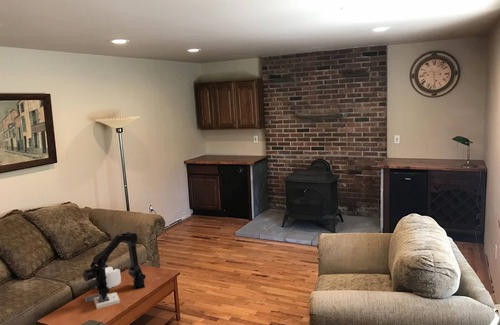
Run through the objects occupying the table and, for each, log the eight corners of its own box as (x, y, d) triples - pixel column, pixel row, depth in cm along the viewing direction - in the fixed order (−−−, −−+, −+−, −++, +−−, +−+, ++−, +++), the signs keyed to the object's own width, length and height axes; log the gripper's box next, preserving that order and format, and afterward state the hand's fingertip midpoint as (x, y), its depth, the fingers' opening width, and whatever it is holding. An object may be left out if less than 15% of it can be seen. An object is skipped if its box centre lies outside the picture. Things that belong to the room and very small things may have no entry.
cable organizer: (102, 292, 269) (100, 276, 267) (93, 288, 275) (91, 272, 273) (121, 284, 281) (120, 268, 279) (112, 280, 287) (110, 265, 285)
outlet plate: (116, 295, 264) (116, 292, 264) (120, 302, 254) (119, 299, 254) (94, 300, 258) (93, 297, 258) (96, 308, 247) (96, 305, 247)
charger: (106, 297, 258) (105, 288, 257) (107, 300, 254) (106, 291, 253) (98, 299, 255) (98, 290, 255) (100, 302, 252) (99, 293, 251)
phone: (84, 298, 262) (84, 297, 262) (107, 293, 269) (106, 291, 268) (85, 303, 256) (85, 301, 256) (108, 297, 262) (108, 296, 262)
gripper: (85, 272, 256) (88, 295, 259) (89, 284, 240) (91, 308, 243) (103, 268, 262) (106, 291, 264) (108, 279, 245) (110, 303, 248)
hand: (103, 298), depth 254 cm, fingers closed on charger, 4 cm apart
